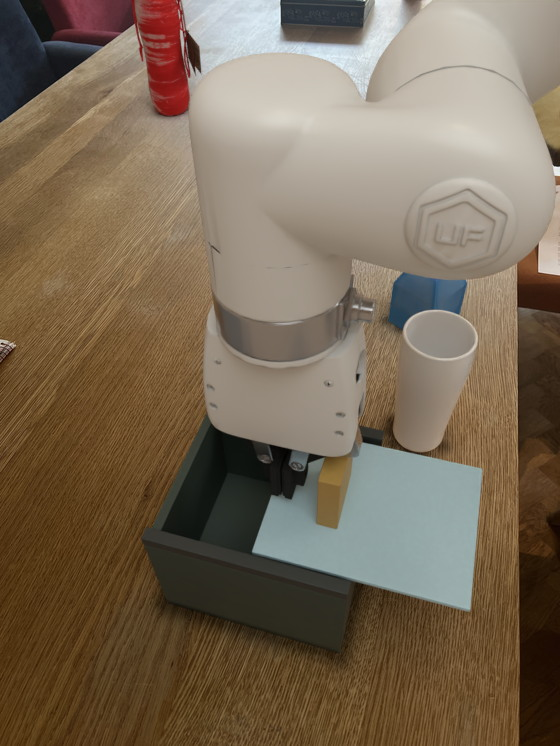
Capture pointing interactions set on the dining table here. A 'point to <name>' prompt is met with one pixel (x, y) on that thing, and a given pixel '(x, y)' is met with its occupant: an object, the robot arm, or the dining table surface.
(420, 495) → the box lid
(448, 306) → the perfume bottle
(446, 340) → the drinking glass
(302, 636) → the display box
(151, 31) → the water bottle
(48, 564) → the dining table surface
